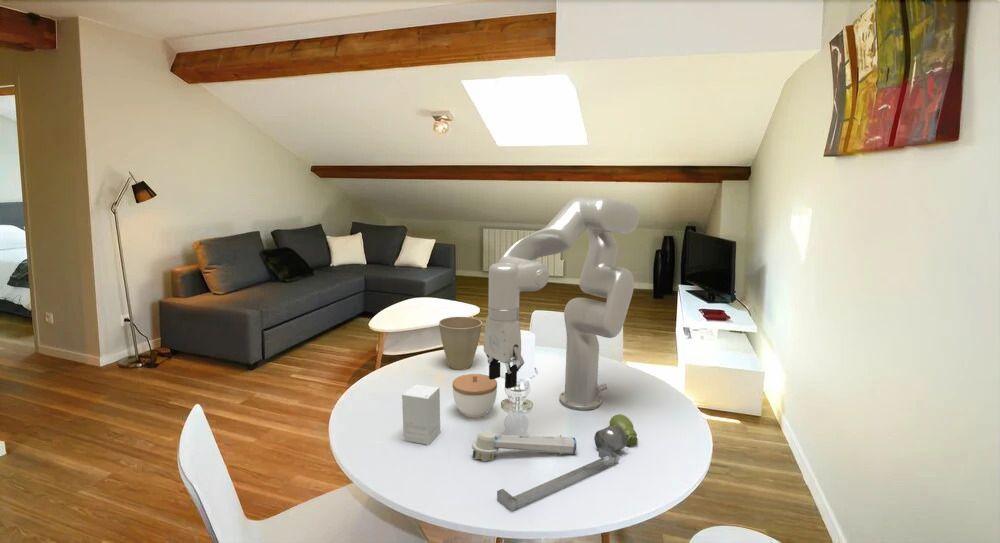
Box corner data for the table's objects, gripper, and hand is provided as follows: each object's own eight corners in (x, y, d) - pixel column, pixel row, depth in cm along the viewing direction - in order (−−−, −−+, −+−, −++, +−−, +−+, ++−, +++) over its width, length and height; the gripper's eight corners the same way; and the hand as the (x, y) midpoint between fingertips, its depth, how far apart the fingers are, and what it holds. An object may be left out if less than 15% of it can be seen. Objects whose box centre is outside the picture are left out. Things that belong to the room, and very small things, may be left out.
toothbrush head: (578, 443, 130) (475, 434, 126) (573, 468, 131) (471, 460, 127) (572, 432, 135) (474, 424, 131) (568, 457, 136) (470, 449, 132)
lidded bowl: (476, 398, 162) (476, 364, 160) (506, 412, 153) (506, 376, 151) (443, 411, 154) (443, 375, 151) (472, 426, 145) (473, 388, 143)
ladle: (607, 443, 137) (608, 421, 136) (632, 456, 131) (633, 433, 130) (488, 492, 116) (489, 467, 114) (511, 511, 109) (512, 485, 108)
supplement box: (441, 432, 142) (440, 387, 139) (428, 445, 135) (427, 398, 132) (416, 427, 144) (415, 383, 142) (402, 440, 137) (401, 394, 135)
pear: (626, 409, 144) (644, 432, 135) (623, 426, 146) (641, 450, 137) (607, 411, 142) (624, 435, 133) (604, 428, 144) (621, 452, 135)
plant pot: (464, 377, 179) (464, 331, 176) (430, 367, 187) (429, 323, 184) (490, 364, 191) (490, 320, 188) (456, 355, 199) (456, 314, 196)
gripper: (471, 308, 137) (471, 375, 140) (513, 324, 123) (511, 398, 126) (495, 304, 141) (494, 369, 144) (538, 319, 127) (536, 390, 131)
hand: (502, 382), depth 135 cm, fingers open, 6 cm apart
